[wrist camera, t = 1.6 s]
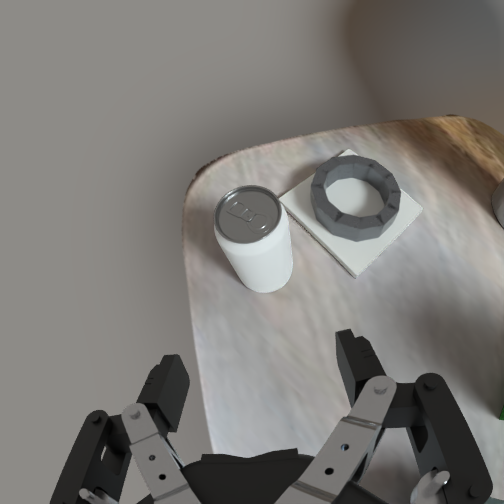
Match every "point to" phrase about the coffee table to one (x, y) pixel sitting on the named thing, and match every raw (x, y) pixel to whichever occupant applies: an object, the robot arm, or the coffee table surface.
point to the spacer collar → (347, 223)
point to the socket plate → (354, 203)
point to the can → (255, 237)
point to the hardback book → (502, 414)
